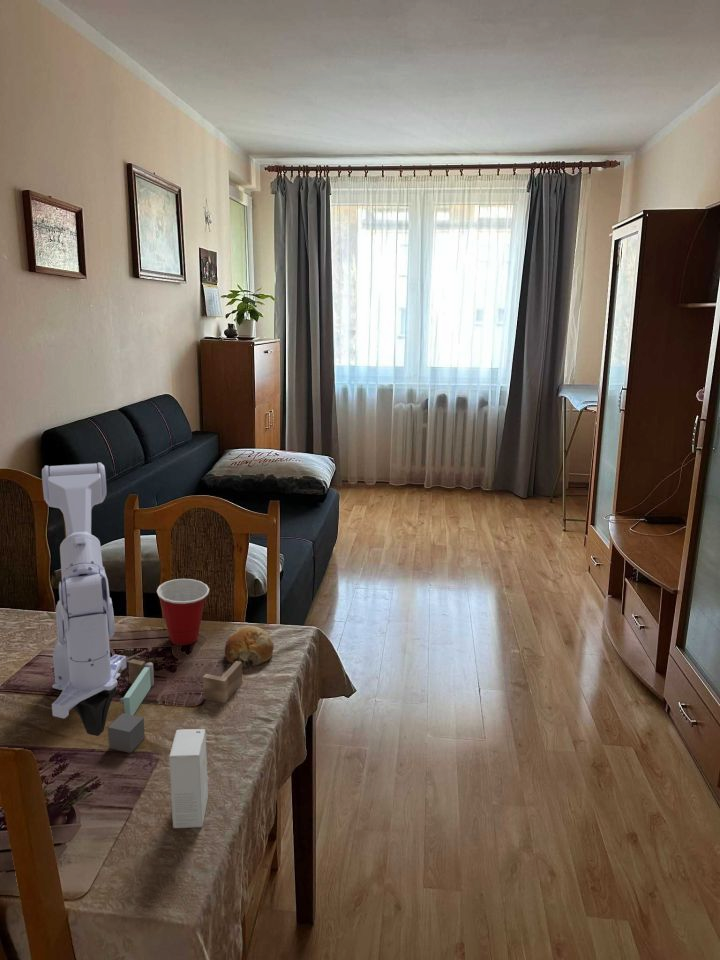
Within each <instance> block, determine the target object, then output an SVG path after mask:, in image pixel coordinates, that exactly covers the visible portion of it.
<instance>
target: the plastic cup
mask: <svg viewBox="0 0 720 960" xmlns="http://www.w3.org/2000/svg"><path fill="white" fill-rule="evenodd" d="M209 592H210V588H209V586H208V584H206V583H204V582H203V581H201V580H197V579H193V578H177V579H176V578H175V579H172V580H168V581H165V582H163V583H161V584H159V586H158V587H157V590H156V593H157V596H158V598H159V600H160V604H161V606H162V611H163V616H164V621H165V625H166V628H167V632H168V636H169V639H170V641H171V643H172V644H174V645H176V646H177V645H178V646H186V645H192V644H193V643H195V642H197V640H198V638H199V634H200V627H201V623H202V617H203V613H204V611H203V610H204V605H205V602H206V599H207V596H209Z"/></svg>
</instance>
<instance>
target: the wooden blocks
mask: <svg viewBox="0 0 720 960" xmlns="http://www.w3.org/2000/svg"><path fill="white" fill-rule="evenodd" d="M145 664H146V661H144V660H139V659H135V658H133V659H131V660H130V661H128V673H129V674H128V676H129V684H131V685H132V684H133V683H134V682H135V680H136V679H137V677H138V676H139V674H140V673H141V671H142V670H143V669H144V667H145ZM242 683H243V667H242V662H240V661H236V662H235V663H234V664H232V665H231V666H230V667H229V668H228V669H227V670H226V672H225V673H224V674H223V675H222V676H221V675H220V676H219V675H215V674H214V675H213V674H210V673H205V674H204V675H203V676H202V691H203V692H202V693H203V695H202V697H203V700H209V701H214V702H219V703H223V704H226V703H227V702H228V701H229V699H230V698H231V697H232V695H233V694H234V693H235V692H236V691H237V690H238V689H239V687H240V686H241V685H242Z"/></svg>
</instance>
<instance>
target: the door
mask: <svg viewBox="0 0 720 960" xmlns="http://www.w3.org/2000/svg"><path fill="white" fill-rule="evenodd" d="M154 678H155V677H154V663H153V662H150V661H149V662H145V667H144V669H143V670H142V671H141V673H140V674H139V676H138V677H137V679H136V680H135V682H134V683H133V684H131V686H130V687H129V688H128V690H127V692H126V693H125V695H124V696H123V697H120V698H119V705H120V704H122V705H123V707H124V708H123V709H124V712H123V713H124V714H128V715H133V716H135V713H136V712H137V710H138V708H139V707H140V706H141V704H142V702H143V701H144V699H145V697H146V696H147V694H148V693H149V692H150V689H151V688H152V687H153V686H154V685H155V679H154Z"/></svg>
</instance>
